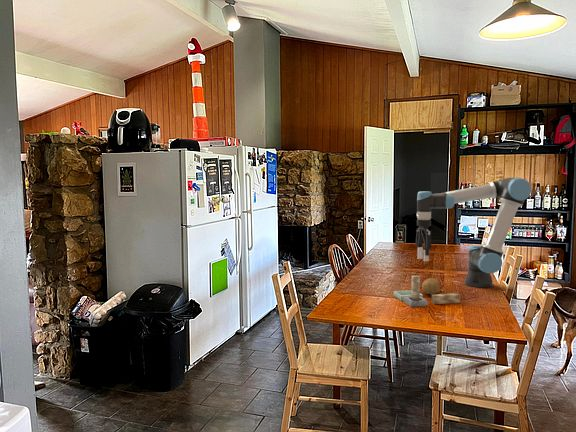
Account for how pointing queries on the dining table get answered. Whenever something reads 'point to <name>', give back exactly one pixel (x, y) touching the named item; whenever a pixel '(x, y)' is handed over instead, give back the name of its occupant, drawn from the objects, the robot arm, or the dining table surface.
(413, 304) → the collar
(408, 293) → the tray
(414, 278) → the dowel
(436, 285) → the potato
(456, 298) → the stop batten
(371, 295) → the dining table surface
